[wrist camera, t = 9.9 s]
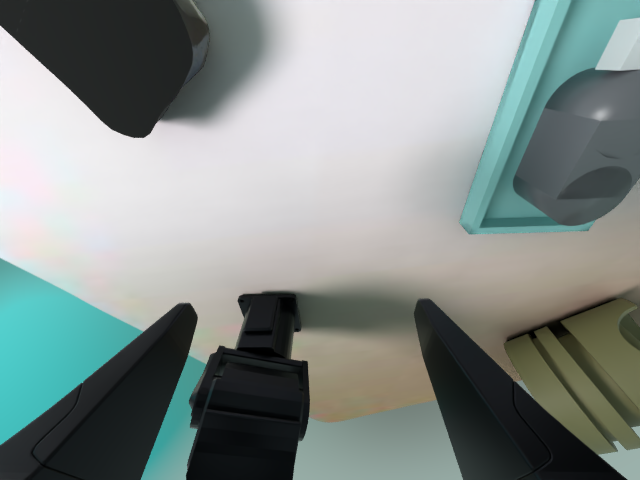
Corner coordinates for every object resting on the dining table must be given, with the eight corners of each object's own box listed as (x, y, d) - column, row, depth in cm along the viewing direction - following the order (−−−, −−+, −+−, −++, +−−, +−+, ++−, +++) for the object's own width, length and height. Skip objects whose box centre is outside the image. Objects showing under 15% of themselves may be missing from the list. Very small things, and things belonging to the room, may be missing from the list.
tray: (569, 218, 21) (588, 230, 19) (459, 222, 21) (468, 234, 20) (745, -50, 12) (803, -65, 10) (547, -35, 12) (576, -48, 11)
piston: (631, 325, 30) (765, 443, 21) (526, 361, 35) (596, 467, 26) (606, 279, 25) (765, 404, 16) (490, 328, 31) (560, 442, 21)
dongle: (557, 197, 19) (603, 224, 16) (504, 199, 19) (540, 227, 16) (659, 18, 13) (769, 6, 10) (580, 24, 13) (662, 13, 10)
